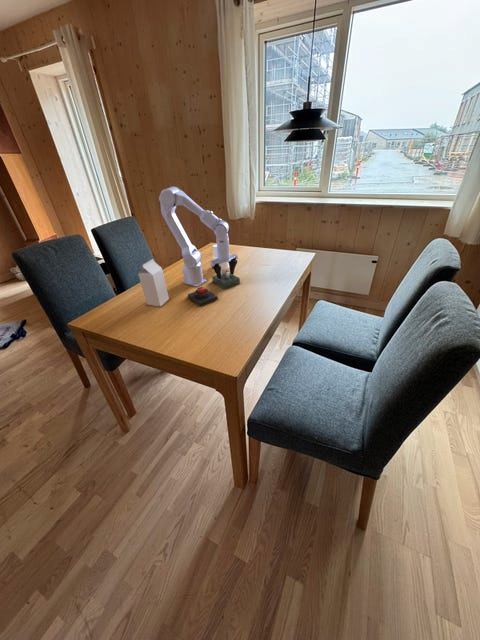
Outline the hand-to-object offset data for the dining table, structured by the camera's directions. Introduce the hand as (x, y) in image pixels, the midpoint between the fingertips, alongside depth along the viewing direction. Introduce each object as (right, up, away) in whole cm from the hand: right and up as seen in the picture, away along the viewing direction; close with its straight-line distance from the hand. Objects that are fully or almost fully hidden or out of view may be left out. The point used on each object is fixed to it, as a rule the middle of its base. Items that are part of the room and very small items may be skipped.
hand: (225, 276), depth 130 cm
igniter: (-10, -12, -11) cm, 19 cm away
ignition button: (-10, -9, -12) cm, 19 cm away
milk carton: (-30, -14, -11) cm, 35 cm away
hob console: (0, -3, +2) cm, 4 cm away
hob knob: (0, 0, 0) cm, 1 cm away
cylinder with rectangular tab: (-3, +8, +19) cm, 21 cm away
